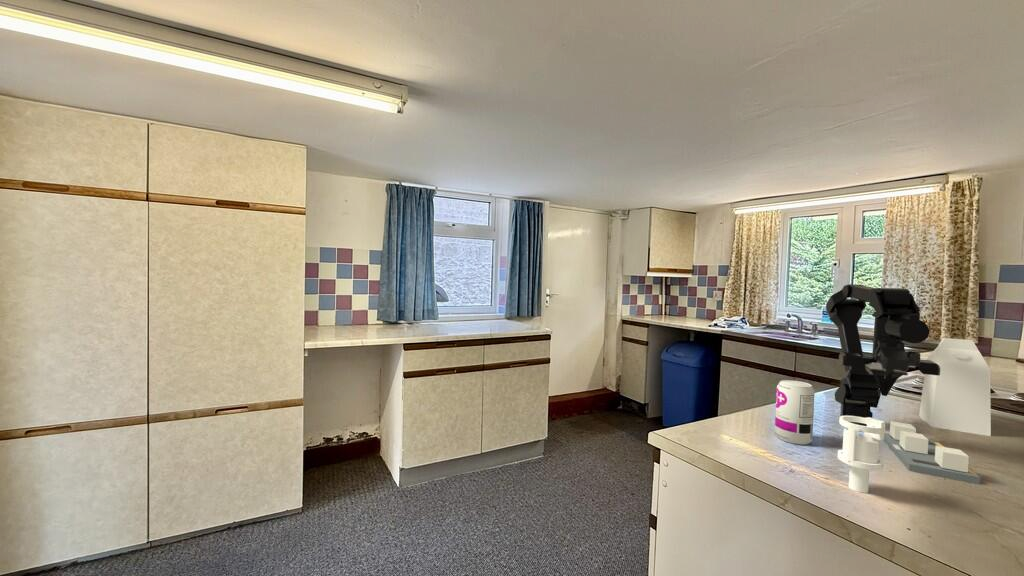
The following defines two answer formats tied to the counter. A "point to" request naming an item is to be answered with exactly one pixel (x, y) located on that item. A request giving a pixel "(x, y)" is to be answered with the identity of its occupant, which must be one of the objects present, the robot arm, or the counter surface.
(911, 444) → the middle tab
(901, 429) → the cream cube
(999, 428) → the counter surface
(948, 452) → the near tab
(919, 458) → the switch bank
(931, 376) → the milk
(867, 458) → the white cylindrical holder
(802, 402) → the supplement can
